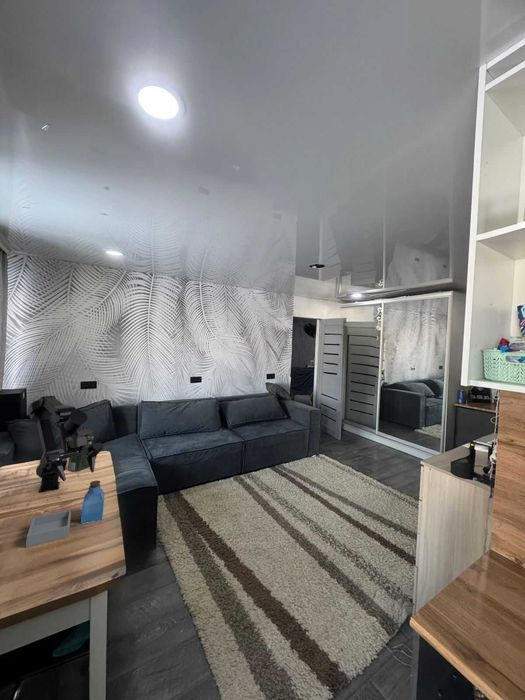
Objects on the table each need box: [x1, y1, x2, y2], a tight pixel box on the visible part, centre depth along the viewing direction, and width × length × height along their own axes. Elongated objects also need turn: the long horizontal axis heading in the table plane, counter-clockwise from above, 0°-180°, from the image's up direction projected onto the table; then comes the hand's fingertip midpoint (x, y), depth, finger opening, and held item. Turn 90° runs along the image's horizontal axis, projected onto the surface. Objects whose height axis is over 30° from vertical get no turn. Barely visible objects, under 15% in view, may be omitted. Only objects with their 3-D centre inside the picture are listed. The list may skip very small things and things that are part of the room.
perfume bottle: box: [80, 480, 106, 524], centre depth 95 cm, size 6×6×12 cm
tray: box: [25, 509, 72, 549], centre depth 86 cm, size 10×10×3 cm
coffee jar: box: [67, 427, 95, 472], centre depth 132 cm, size 10×8×19 cm
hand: (79, 476), depth 98 cm, fingers open, 9 cm apart
